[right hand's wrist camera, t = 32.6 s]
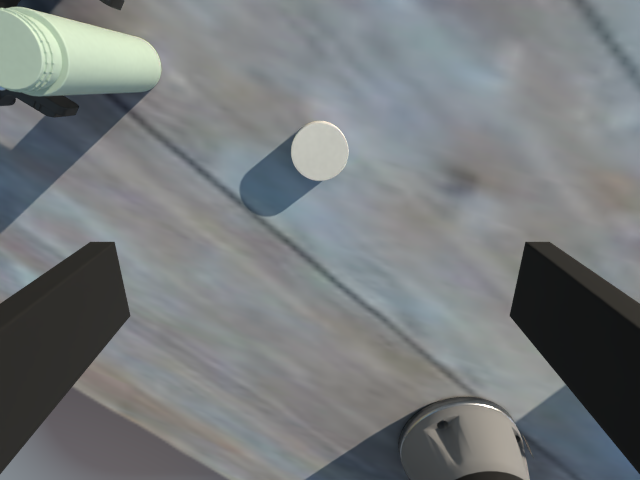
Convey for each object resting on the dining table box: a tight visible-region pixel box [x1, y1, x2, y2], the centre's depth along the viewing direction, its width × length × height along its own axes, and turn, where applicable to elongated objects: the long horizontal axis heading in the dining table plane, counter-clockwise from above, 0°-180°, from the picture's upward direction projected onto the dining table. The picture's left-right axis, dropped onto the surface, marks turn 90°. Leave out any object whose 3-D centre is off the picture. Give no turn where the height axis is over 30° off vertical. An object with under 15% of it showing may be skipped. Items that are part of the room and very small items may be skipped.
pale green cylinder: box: [0, 7, 161, 96], centre depth 27 cm, size 4×4×15 cm
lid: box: [291, 121, 348, 181], centre depth 36 cm, size 5×5×2 cm
